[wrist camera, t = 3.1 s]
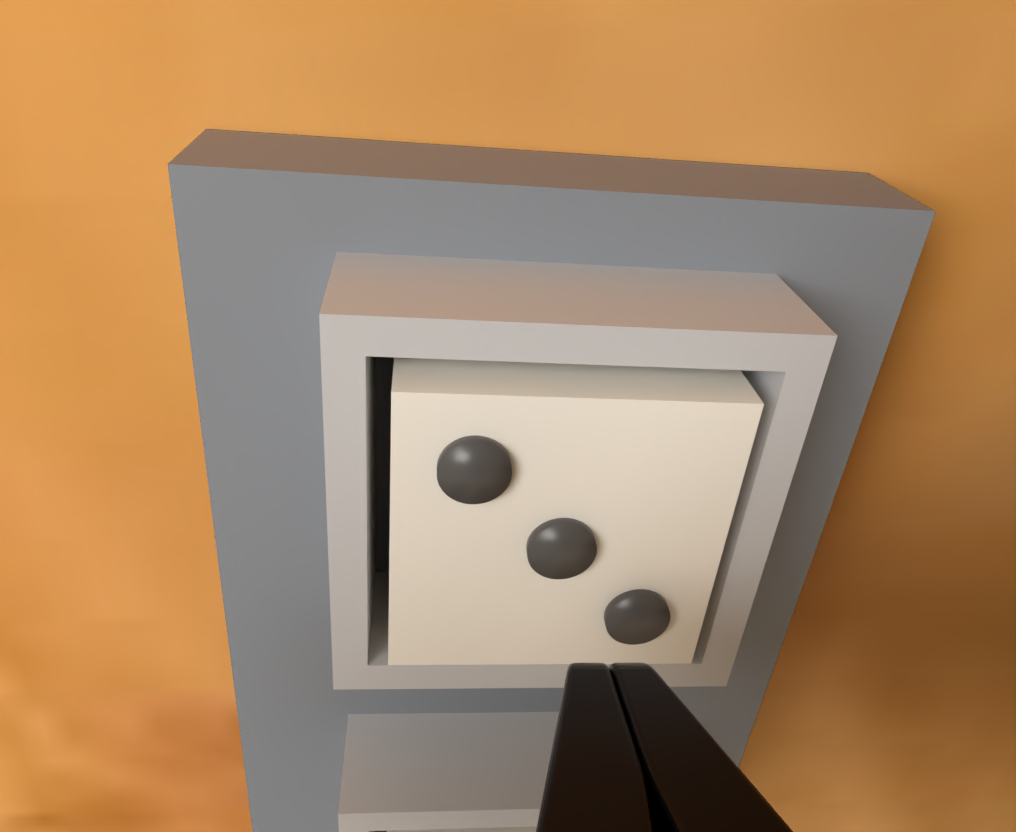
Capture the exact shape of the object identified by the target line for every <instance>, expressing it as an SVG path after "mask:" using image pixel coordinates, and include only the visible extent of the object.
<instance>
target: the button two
mask: <svg viewBox="0 0 1016 832" xmlns="http://www.w3.org/2000/svg"><path fill="white" fill-rule="evenodd" d="M536 828H537V826H535V827H499V828H463V829H427V830H391V831H387V832H536Z"/></svg>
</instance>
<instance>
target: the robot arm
mask: <svg viewBox="0 0 1016 832" xmlns="http://www.w3.org/2000/svg"><path fill="white" fill-rule="evenodd" d="M536 832H793V831H792V830H791V829H790V828H789V826H788V825H787V824H786V823H785V822H784V821H783V819H782V818H781V817H780V816H779V815H778V813H777V812H776V811H775V810H774V809H773V808H772V806H771V805H770V804H769V803H768V802H767V801H766V799H765V798H764V797H763V796H762V795H761V794H760V792H759V791H758V790H757V789H756V788H755V787H754V785H753V784H752V783H751V782H750V781H749V780H748V778H747V777H746V776H745V775H744V774H743V773H742V771H741V770H740V769H739V768H738V767H737V766H736V764H735V763H734V762H733V761H732V760H731V758H730V757H729V756H728V755H727V754H726V753H725V751H724V750H723V749H722V748H721V747H720V746H719V744H718V743H717V742H716V741H715V740H714V739H713V737H712V736H711V735H710V734H709V733H708V732H707V730H706V729H705V728H704V727H703V726H702V725H701V723H700V722H699V721H698V720H697V719H696V718H695V716H694V715H693V714H692V713H691V712H690V711H689V709H688V708H687V707H686V706H685V705H684V704H683V702H682V701H681V700H680V699H679V698H678V696H677V695H676V694H675V693H674V692H673V691H672V689H671V688H670V687H669V686H668V685H667V684H666V682H665V681H664V680H663V679H662V678H661V677H660V675H659V674H658V673H657V672H656V671H655V670H654V669H653V668H652V667H651V666H650V665H648V664H646V663H612V664H611V665H609V667H608V666H607V665H606V664H604V663H572V664H570V665H569V666H568V669H567V673H566V678H565V683H564V688H563V694H562V699H561V704H560V709H559V714H558V719H557V725H556V730H555V735H554V740H553V745H552V750H551V756H550V761H549V766H548V771H547V776H546V781H545V787H544V792H543V797H542V802H541V807H540V812H539V818H538V823H537V828H536Z"/></svg>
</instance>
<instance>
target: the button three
mask: <svg viewBox="0 0 1016 832" xmlns="http://www.w3.org/2000/svg"><path fill="white" fill-rule="evenodd" d="M763 406H764V403H763V402H762V400H761V399H760V397H759V396H758V394H757V393H756V392H755V390H754V389H753V387H752V386H751V384H750V383H749V382H748V380H747V379H746V377H745V376H744V374H743V373H742V371H741V370H722V369H695V368H668V367H640V366H613V365H586V364H559V363H532V362H505V361H478V360H451V359H424V358H397V357H394V365H393V377H392V389H391V455H390V541H389V628H388V665H524V664H572V663H604V664H612V663H646V664H691V663H692V659H693V656H694V652H695V649H696V645H697V642H698V638H699V634H700V631H701V627H702V624H703V620H704V617H705V613H706V609H707V606H708V602H709V599H710V595H711V592H712V588H713V585H714V581H715V577H716V574H717V570H718V567H719V563H720V560H721V556H722V552H723V549H724V545H725V542H726V538H727V535H728V531H729V527H730V524H731V520H732V517H733V513H734V510H735V506H736V502H737V499H738V495H739V492H740V488H741V485H742V481H743V478H744V474H745V470H746V467H747V463H748V460H749V456H750V453H751V449H752V445H753V442H754V438H755V435H756V431H757V428H758V424H759V420H760V417H761V413H762V410H763Z"/></svg>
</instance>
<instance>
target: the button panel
mask: <svg viewBox="0 0 1016 832" xmlns="http://www.w3.org/2000/svg"><path fill="white" fill-rule="evenodd" d="M168 170H169V178H170V186H171V194H172V202H173V210H174V217H175V225H176V233H177V241H178V249H179V257H180V265H181V272H182V280H183V288H184V296H185V304H186V312H187V320H188V327H189V335H190V343H191V351H192V359H193V367H194V374H195V382H196V390H197V398H198V406H199V414H200V422H201V429H202V437H203V445H204V453H205V461H206V469H207V476H208V484H209V492H210V500H211V508H212V516H213V524H214V531H215V539H216V547H217V555H218V563H219V571H220V579H221V586H222V594H223V602H224V610H225V618H226V626H227V633H228V641H229V649H230V657H231V665H232V673H233V681H234V688H235V696H236V704H237V712H238V720H239V728H240V736H241V743H242V751H243V759H244V767H245V775H246V783H247V790H248V798H249V806H250V814H251V822H252V830H253V832H387V831H391V830H427V829H463V828H499V827H535V826H537V823H538V818H539V812H540V807H541V802H542V797H543V792H544V787H545V781H546V776H547V771H548V766H549V761H550V756H551V750H552V745H553V740H554V735H555V730H556V725H557V719H558V714H559V709H560V704H561V699H562V694H563V688H564V683H565V678H566V673H567V669H568V666H569V665H570V664H524V665H388V628H389V541H390V455H391V389H392V377H393V365H394V357H397V358H424V359H451V360H478V361H505V362H532V363H559V364H586V365H613V366H640V367H668V368H695V369H722V370H741V371H742V373H743V374H744V376H745V377H746V379H747V380H748V382H749V383H750V384H751V386H752V387H753V389H754V390H755V392H756V393H757V394H758V396H759V397H760V399H761V400H762V402H763V403H764V406H763V410H762V413H761V417H760V420H759V424H758V428H757V431H756V435H755V438H754V442H753V445H752V449H751V453H750V456H749V460H748V463H747V467H746V470H745V474H744V478H743V481H742V485H741V488H740V492H739V495H738V499H737V502H736V506H735V510H734V513H733V517H732V520H731V524H730V527H729V531H728V535H727V538H726V542H725V545H724V549H723V552H722V556H721V560H720V563H719V567H718V570H717V574H716V577H715V581H714V585H713V588H712V592H711V595H710V599H709V602H708V606H707V609H706V613H705V617H704V620H703V624H702V627H701V631H700V634H699V638H698V642H697V645H696V649H695V652H694V656H693V659H692V663H691V664H648V665H650V666H651V667H652V668H653V669H654V670H655V671H656V672H657V673H658V674H659V675H660V677H661V678H662V679H663V680H664V681H665V682H666V684H667V685H668V686H669V687H670V688H671V689H672V691H673V692H674V693H675V694H676V695H677V696H678V698H679V699H680V700H681V701H682V702H683V704H684V705H685V706H686V707H687V708H688V709H689V711H690V712H691V713H692V714H693V715H694V716H695V718H696V719H697V720H698V721H699V722H700V723H701V725H702V726H703V727H704V728H705V729H706V730H707V732H708V733H709V734H710V735H711V736H712V737H713V739H714V740H715V741H716V742H717V743H718V744H719V746H720V747H721V748H722V749H723V750H724V751H725V753H726V754H727V755H728V756H729V757H730V758H731V760H732V761H733V762H734V763H735V764H736V766H737V767H739V765H740V762H741V759H742V756H743V753H744V751H745V748H746V745H747V742H748V739H749V736H750V734H751V731H752V728H753V725H754V722H755V720H756V717H757V714H758V711H759V708H760V705H761V703H762V700H763V697H764V694H765V691H766V689H767V686H768V683H769V680H770V677H771V674H772V672H773V669H774V666H775V663H776V660H777V658H778V655H779V652H780V649H781V646H782V643H783V641H784V638H785V635H786V632H787V629H788V627H789V624H790V621H791V618H792V615H793V612H794V610H795V607H796V604H797V601H798V598H799V596H800V593H801V590H802V587H803V584H804V581H805V579H806V576H807V573H808V570H809V567H810V565H811V562H812V559H813V556H814V553H815V550H816V548H817V545H818V542H819V539H820V536H821V534H822V531H823V528H824V525H825V522H826V519H827V517H828V514H829V511H830V508H831V505H832V503H833V500H834V497H835V494H836V491H837V488H838V486H839V483H840V480H841V477H842V474H843V472H844V469H845V466H846V463H847V460H848V457H849V455H850V452H851V449H852V446H853V443H854V441H855V438H856V435H857V432H858V429H859V426H860V424H861V421H862V418H863V415H864V412H865V410H866V407H867V404H868V401H869V398H870V395H871V393H872V390H873V387H874V384H875V381H876V379H877V376H878V373H879V370H880V367H881V364H882V362H883V359H884V356H885V353H886V350H887V348H888V345H889V342H890V339H891V336H892V333H893V331H894V328H895V325H896V322H897V319H898V317H899V314H900V311H901V308H902V305H903V302H904V300H905V297H906V294H907V291H908V288H909V286H910V283H911V280H912V277H913V274H914V271H915V269H916V266H917V263H918V260H919V257H920V255H921V252H922V249H923V246H924V243H925V240H926V238H927V235H928V232H929V229H930V226H931V224H932V221H933V218H934V215H935V212H936V211H934V210H933V209H931V208H929V207H927V206H926V205H924V204H922V203H920V202H918V201H917V200H915V199H913V198H911V197H910V196H908V195H906V194H904V193H903V192H901V191H899V190H897V189H896V188H894V187H892V186H890V185H888V184H887V183H885V182H883V181H881V180H880V179H878V178H876V177H874V176H873V175H871V174H869V173H861V172H846V171H831V170H816V169H801V168H786V167H771V166H756V165H741V164H726V163H711V162H696V161H681V160H666V159H651V158H636V157H621V156H606V155H590V154H575V153H560V152H545V151H530V150H515V149H500V148H485V147H470V146H455V145H440V144H425V143H410V142H395V141H380V140H365V139H350V138H335V137H320V136H305V135H290V134H275V133H260V132H245V131H230V130H215V129H206V130H204V131H203V132H202V133H201V134H200V135H199V136H198V137H197V138H196V139H195V140H194V141H192V142H191V143H190V144H189V145H188V146H187V147H186V148H185V149H184V150H183V151H181V152H180V153H179V154H178V155H177V156H176V157H175V158H174V159H173V160H172V161H170V162H169V163H168ZM606 665H607V666H608V667H609V665H611V664H606Z"/></svg>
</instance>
